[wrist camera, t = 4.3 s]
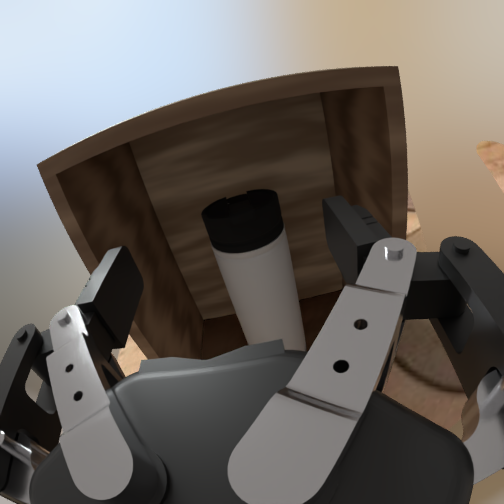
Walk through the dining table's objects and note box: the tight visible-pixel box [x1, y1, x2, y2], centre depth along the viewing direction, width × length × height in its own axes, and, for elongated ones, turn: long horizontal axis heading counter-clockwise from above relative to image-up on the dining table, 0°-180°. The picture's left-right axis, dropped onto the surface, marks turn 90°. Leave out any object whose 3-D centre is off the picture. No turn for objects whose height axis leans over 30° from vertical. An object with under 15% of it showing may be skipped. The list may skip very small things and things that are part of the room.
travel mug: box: [201, 189, 307, 352], centre depth 28 cm, size 6×7×20 cm
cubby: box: [37, 66, 408, 360], centre depth 27 cm, size 15×22×28 cm
